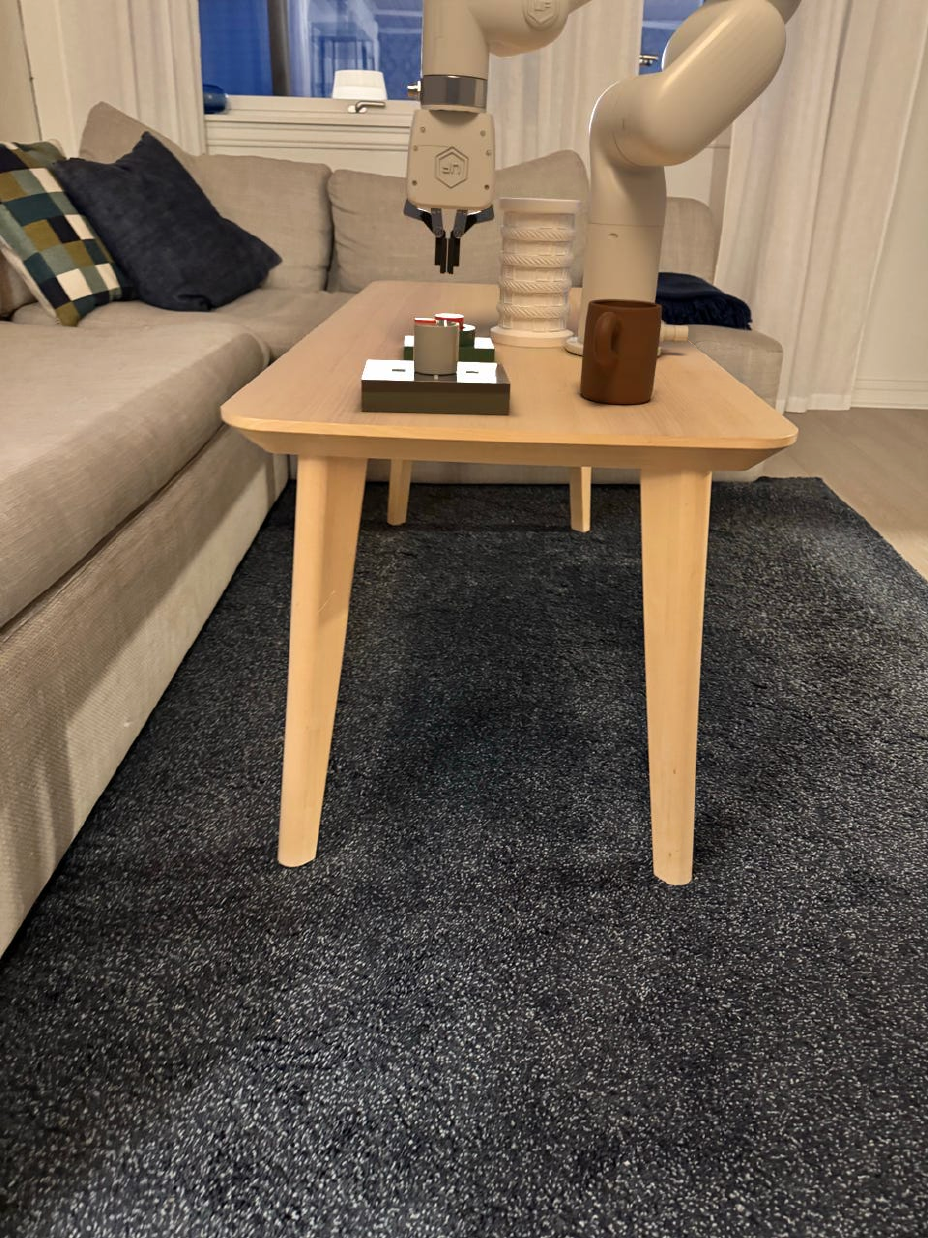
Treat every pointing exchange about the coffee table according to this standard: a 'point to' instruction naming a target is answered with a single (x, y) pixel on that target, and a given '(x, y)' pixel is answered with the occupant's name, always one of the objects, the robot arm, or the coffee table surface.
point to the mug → (620, 350)
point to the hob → (435, 389)
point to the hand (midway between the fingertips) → (446, 272)
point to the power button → (451, 318)
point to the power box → (463, 347)
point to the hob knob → (435, 346)
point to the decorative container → (535, 271)
